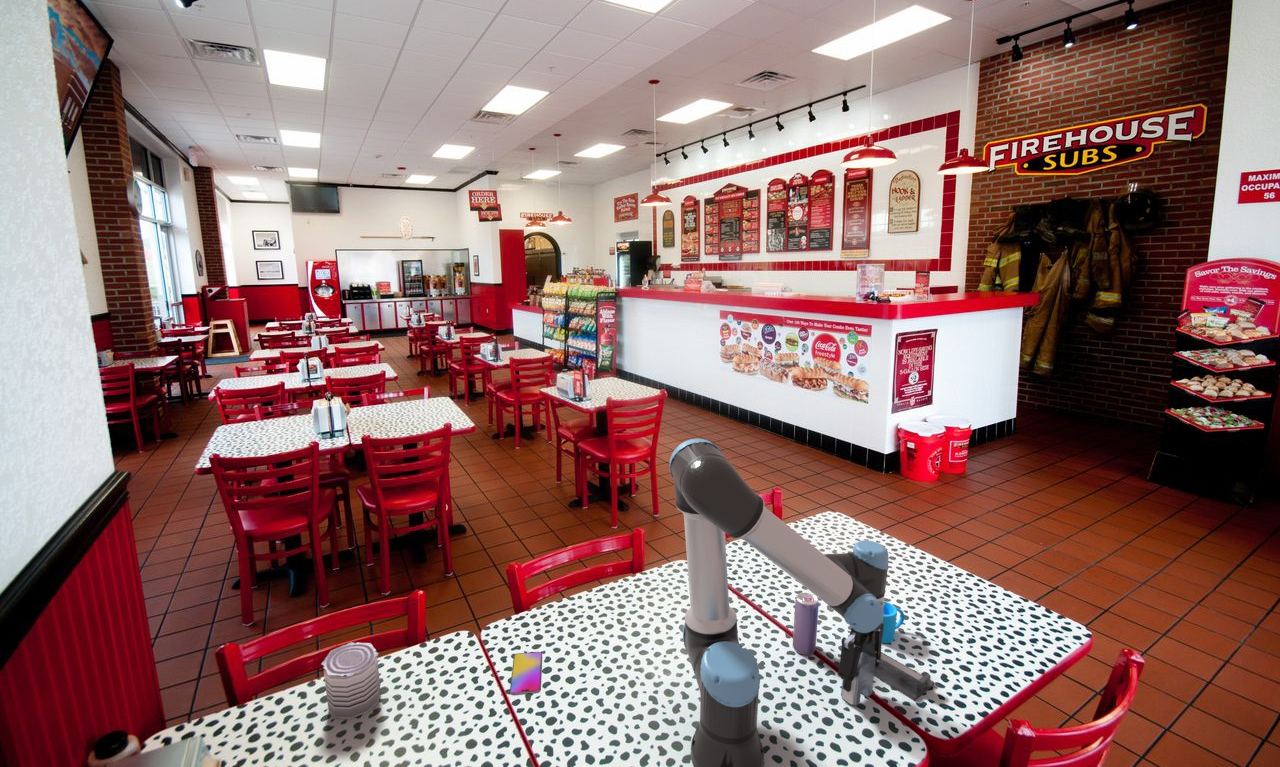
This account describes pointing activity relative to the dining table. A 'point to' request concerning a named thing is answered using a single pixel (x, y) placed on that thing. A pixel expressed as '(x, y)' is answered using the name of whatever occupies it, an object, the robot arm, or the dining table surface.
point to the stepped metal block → (864, 676)
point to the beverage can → (805, 623)
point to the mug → (891, 622)
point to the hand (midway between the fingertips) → (856, 694)
